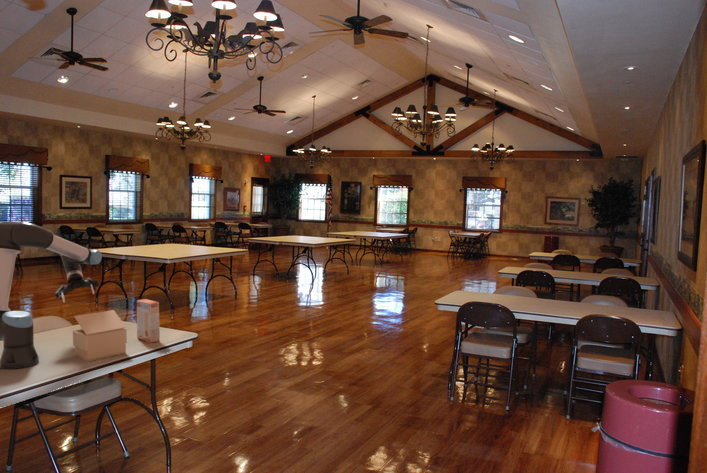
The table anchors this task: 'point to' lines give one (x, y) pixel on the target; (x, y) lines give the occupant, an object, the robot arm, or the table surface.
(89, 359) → the carton
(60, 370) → the table surface
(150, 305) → the cracker box
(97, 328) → the flap
